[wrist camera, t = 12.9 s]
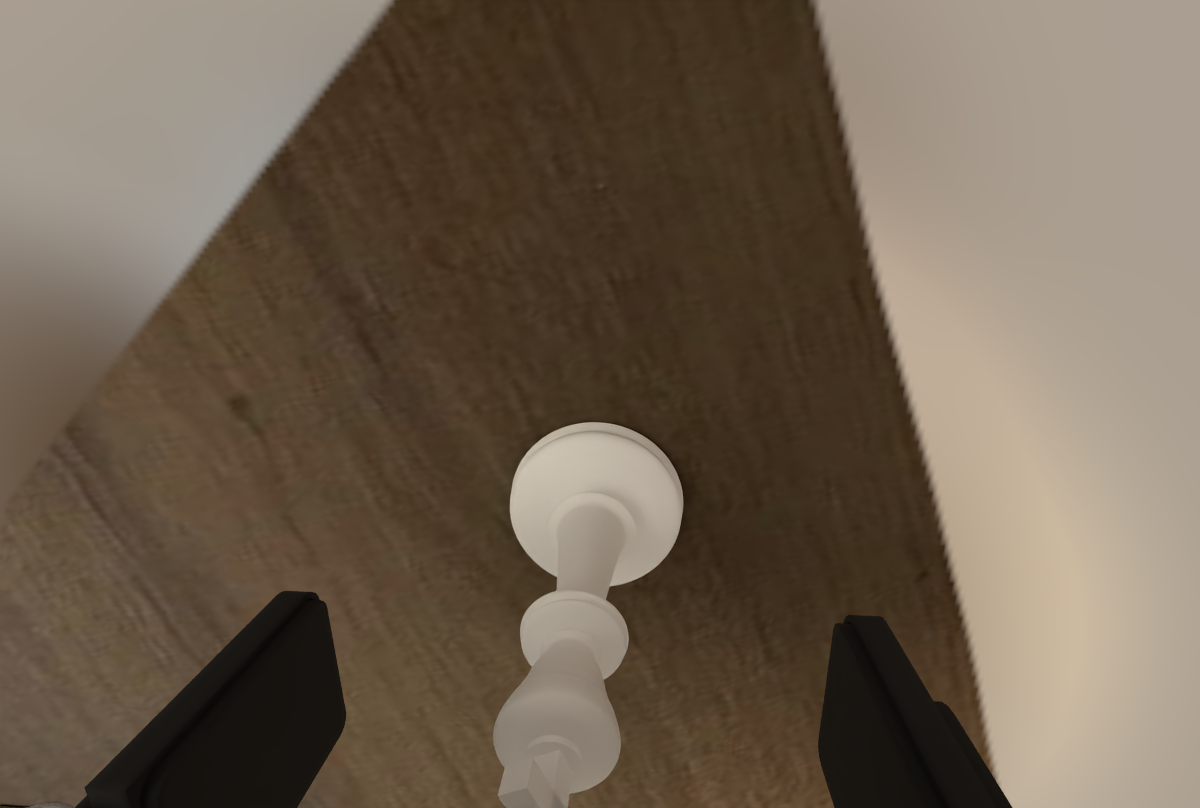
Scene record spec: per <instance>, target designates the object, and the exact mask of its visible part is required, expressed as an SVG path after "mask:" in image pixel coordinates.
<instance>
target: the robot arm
mask: <svg viewBox="0 0 1200 808" xmlns="http://www.w3.org/2000/svg"><path fill="white" fill-rule="evenodd" d="M345 720H346V710H345V704H344V699H343V693H342V688H341V682H340V677H339V671H338V665H337V660H336V654H335V649H334V643H333V638H332V632H331V627H330V621H329V616H328V610H327V606H326V603H325V602H324V601H320V600H319V597H318V596H317V594H316V593H313V592H298V591H283V592H281V593H279V594H278V595H277V596H276V597H275V598H274V599H273V600H272V601H271V602H270V603H269V604H268V605H267V606H266V607H265V608H264V609H263V610H262V611H261V612H260V613H259V614H258V615H257V616H256V617H255V618H254V619H253V620H252V621H251V622H250V623H249V624H248V625H247V626H246V627H245V628H244V629H243V630H242V631H241V632H240V633H239V634H238V635H237V636H236V637H235V638H234V639H233V640H232V641H231V642H230V643H229V644H228V645H227V646H226V647H225V648H224V649H223V650H222V651H221V652H220V653H219V654H218V655H217V656H216V657H215V658H214V659H213V660H212V661H211V662H210V663H209V664H208V665H207V666H206V667H205V668H204V669H203V670H202V671H201V672H200V673H199V674H198V675H197V676H196V677H195V678H194V679H193V680H192V681H191V682H190V683H189V684H188V685H187V686H186V687H185V688H184V689H183V690H182V691H181V692H180V693H179V694H178V695H177V696H176V697H175V698H174V699H173V700H172V701H171V702H170V703H169V704H168V705H167V706H166V707H165V708H164V709H163V710H162V711H161V712H160V713H159V714H158V715H157V716H156V717H155V718H154V719H153V720H152V721H151V722H150V723H149V724H148V725H147V726H146V727H145V728H144V729H143V730H142V731H141V732H140V733H139V734H138V735H137V736H136V737H135V738H134V739H133V740H132V741H131V742H130V743H129V744H128V745H127V746H126V747H125V748H124V749H123V750H122V751H121V752H120V753H119V754H118V755H117V756H116V757H115V758H114V759H113V760H112V761H111V762H110V763H109V764H108V765H107V766H106V767H105V768H104V769H103V770H102V771H101V772H100V773H99V774H98V775H97V776H96V777H95V778H94V779H93V780H92V781H91V782H90V783H89V784H88V785H87V786H86V787H85V790H86V793H87V796H86V797H85V798H84V799H83V800H82V801H81V802H80V803H79V804H78V805H77V806H76V807H75V808H297V807H298V805H299V804H300V802H301V800H302V799H303V797H304V795H305V794H306V792H307V790H308V789H309V787H310V785H311V784H312V782H313V780H314V779H315V777H316V775H317V774H318V772H319V770H320V769H321V767H322V765H323V764H324V762H325V760H326V759H327V757H328V755H329V754H330V752H331V750H332V749H333V747H334V745H335V744H336V742H337V740H338V739H339V737H340V735H341V733H342V731H343V728H344V725H345ZM818 748H819V757H820V762H821V766H822V769H823V773H824V776H825V779H826V782H827V785H828V788H829V791H830V795H831V798H832V801H833V804H834V807H835V808H1012V806H1011V805H1010V803H1009V802H1008V800H1007V798H1006V797H1005V795H1004V793H1003V792H1002V790H1001V789H1000V787H999V785H998V784H997V782H996V780H995V779H994V777H993V776H992V774H991V772H990V771H989V769H988V768H987V766H986V764H985V763H984V761H983V760H982V758H981V756H980V755H979V753H978V752H977V750H976V748H975V747H974V745H973V743H972V742H971V740H970V739H969V737H968V735H967V734H966V732H965V731H964V729H963V727H962V726H961V724H960V723H959V721H958V719H957V718H956V716H955V715H954V713H953V712H952V711H951V709H950V708H949V707H948V706H947V705H946V704H944V703H943V702H935V701H933V700H932V698H931V696H930V695H929V693H928V691H927V690H926V688H925V686H924V685H923V683H922V681H921V680H920V678H919V676H918V675H917V673H916V671H915V670H914V668H913V666H912V664H911V663H910V661H909V659H908V658H907V656H906V654H905V653H904V651H903V649H902V648H901V646H900V644H899V643H898V641H897V639H896V638H895V636H894V634H893V633H892V631H891V629H890V627H889V626H888V624H887V622H886V621H885V620H884V618H882V617H880V616H857V615H848V616H846V618H845V620H844V624H841V623H837V624H835V626H834V629H833V636H832V644H831V651H830V658H829V666H828V673H827V681H826V688H825V696H824V703H823V711H822V718H821V726H820V733H819V742H818ZM26 808H73V807H72V806H71V805H70V804H67V803H62V802H56V801H55V802H47V803H40V804H35V805H32V806H29V807H26Z"/></svg>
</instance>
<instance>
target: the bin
mask: <svg viewBox="0 0 1200 808" xmlns="http://www.w3.org/2000/svg"><path fill="white" fill-rule="evenodd" d="M0 808H22V807H8V806H0Z"/></svg>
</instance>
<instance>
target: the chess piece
mask: <svg viewBox="0 0 1200 808" xmlns="http://www.w3.org/2000/svg"><path fill="white" fill-rule="evenodd" d="M682 513H683V493H682V487H681V483H680V480H679V477H678V475H677V472H676V470H675V468H674V467H673V465H672V463H671V462H670V460H669V459H668V458H667V456H666V455H665V454H664V453H663V452H662V451H661V450H660V449H659V448H658V447H657V446H656V445H655V444H654V443H653V442H651V441H650V440H649V439H647V438H646V437H644V436H642V435H641V434H639V433H637V432H635V431H633V430H630V429H628V428H625V427H622V426H619V425H615V424H609V423H600V422H587V423H579V424H574V425H569V426H566V427H563V428H560V429H558V430H556V431H554V432H552V433H550V434H548V435H546V436H545V437H543V438H542V439H541V440H539V441H538V442H537V443H536V444H535V445H534V446H533V447H532V448H531V449H530V450H529V451H528V452H527V453H526V455H525V456H524V457H523V459H522V461H521V462H520V464H519V466H518V468H517V470H516V473H515V476H514V479H513V484H512V491H511V496H510V516H511V522H512V526H513V529H514V532H515V534H516V537H517V539H518V541H519V542H520V544H521V546H522V547H523V549H524V550H525V551H526V553H527V554H528V555H529V556H530V557H531V559H532V560H533V561H534V562H535V563H537V564H538V565H539V566H540V567H541V568H543V569H544V570H546V571H547V572H549V573H550V574H552V575H554V576H556V577H557V590H556V591H555V592H552V593H549V594H546V595H544V596H542V597H541V598H539V599H538V600H536V601H535V602H534V603H533V604H532V605H531V606H530V607H529V608H528V609H527V611H526V612H525V614H524V616H523V619H522V622H521V626H520V638H521V646H522V650H523V653H524V655H525V658H526V659H527V661H528V663H529V664H530V665H531V666H532V668H531V670H530V672H529V674H528V676H527V677H526V678H525V680H524V681H523V682H522V683H521V685H520V686H518V687H517V688H516V690H515V691H514V692H513V693H512V694H511V696H510V697H509V699H508V700H507V701H506V703H505V704H504V706H503V707H502V709H501V711H500V713H499V715H498V717H497V719H496V722H495V725H494V730H493V743H494V748H495V751H496V754H497V756H498V758H499V760H500V762H501V763H502V765H503V766H504V768H505V769H504V773H503V776H502V780H501V784H500V788H499V792H498V797H499V799H500V800H501V802H502V803H503V805H504V806H505V808H568V801H569V794H571V793H577V792H581V791H584V790H587V789H589V788H591V787H593V786H595V785H597V784H599V783H600V782H601V781H603V780H604V779H605V778H606V777H607V776H608V775H609V774H610V773H611V771H612V770H613V769H614V767H615V765H616V763H617V761H618V758H619V754H620V747H621V741H620V732H619V728H618V723H617V720H616V717H615V713H614V710H613V707H612V705H611V703H610V701H609V699H608V696H607V693H606V690H605V684H604V679H606V678H608V677H609V676H610V675H611V674H613V673H614V672H615V671H616V669H617V668H618V667H619V665H620V664H621V662H622V659H623V657H624V656H625V653H626V651H627V648H628V642H629V636H628V629H627V626H626V623H625V621H624V619H623V617H622V615H621V614H620V613H619V611H618V610H617V609H616V608H615V607H614V606H613V605H612V604H611V603H609V602H608V601H607V600H606V597H607V594H608V590H609V587H610V586H615V585H620V584H624V583H627V582H630V581H633V580H635V579H638V578H640V577H642V576H643V575H645V574H647V573H648V572H650V571H651V570H653V569H654V568H655V567H656V566H657V565H659V564H660V563H661V562H662V560H663V559H664V558H665V557H666V556H667V555H668V553H669V552H670V550H671V549H672V547H673V545H674V543H675V541H676V539H677V536H678V533H679V529H680V525H681V519H682Z"/></svg>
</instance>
